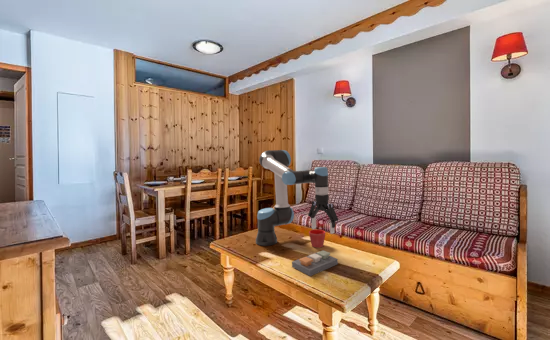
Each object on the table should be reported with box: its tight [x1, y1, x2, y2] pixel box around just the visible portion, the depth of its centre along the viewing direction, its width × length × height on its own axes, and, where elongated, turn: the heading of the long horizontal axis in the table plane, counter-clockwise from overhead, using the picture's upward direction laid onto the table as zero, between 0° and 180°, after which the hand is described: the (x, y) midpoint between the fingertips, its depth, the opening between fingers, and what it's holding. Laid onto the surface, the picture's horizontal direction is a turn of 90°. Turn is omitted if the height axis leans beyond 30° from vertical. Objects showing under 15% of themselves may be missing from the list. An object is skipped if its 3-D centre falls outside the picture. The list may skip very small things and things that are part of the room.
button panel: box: [291, 252, 339, 277], centre depth 147 cm, size 14×22×3 cm, turn 128°
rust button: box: [298, 256, 313, 266], centre depth 142 cm, size 5×5×3 cm
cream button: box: [307, 253, 322, 263], centre depth 147 cm, size 5×5×3 cm
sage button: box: [316, 250, 331, 259], centre depth 151 cm, size 5×5×3 cm
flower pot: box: [308, 229, 326, 249], centre depth 176 cm, size 11×11×10 cm
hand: (322, 230), depth 151 cm, fingers open, 13 cm apart
